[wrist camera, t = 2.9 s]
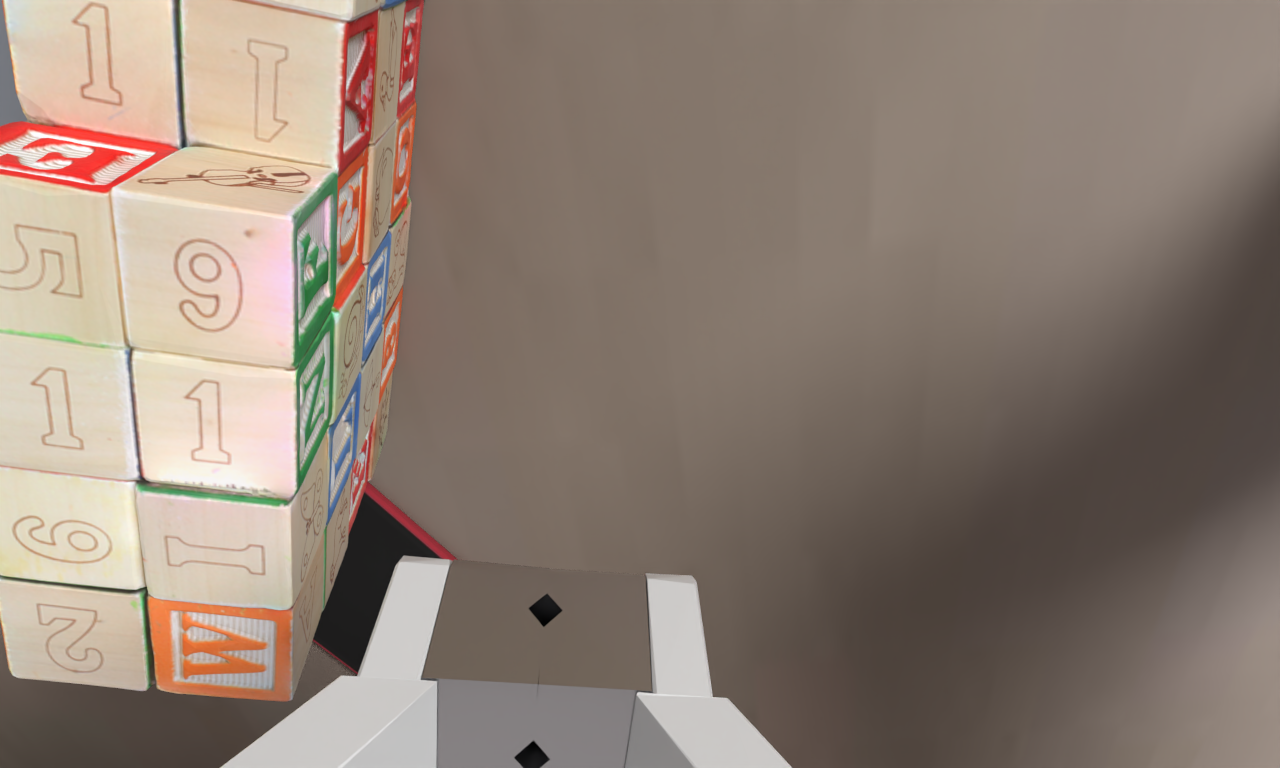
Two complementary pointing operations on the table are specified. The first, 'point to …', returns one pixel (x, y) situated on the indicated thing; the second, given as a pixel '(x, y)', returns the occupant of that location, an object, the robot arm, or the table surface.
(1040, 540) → the table surface
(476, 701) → the robot arm
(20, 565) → the stack of blocks
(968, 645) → the table surface
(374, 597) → the smartphone
